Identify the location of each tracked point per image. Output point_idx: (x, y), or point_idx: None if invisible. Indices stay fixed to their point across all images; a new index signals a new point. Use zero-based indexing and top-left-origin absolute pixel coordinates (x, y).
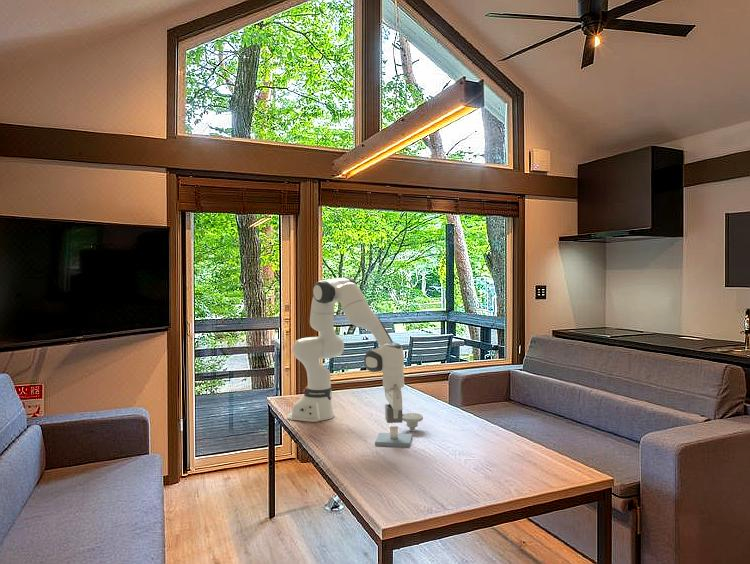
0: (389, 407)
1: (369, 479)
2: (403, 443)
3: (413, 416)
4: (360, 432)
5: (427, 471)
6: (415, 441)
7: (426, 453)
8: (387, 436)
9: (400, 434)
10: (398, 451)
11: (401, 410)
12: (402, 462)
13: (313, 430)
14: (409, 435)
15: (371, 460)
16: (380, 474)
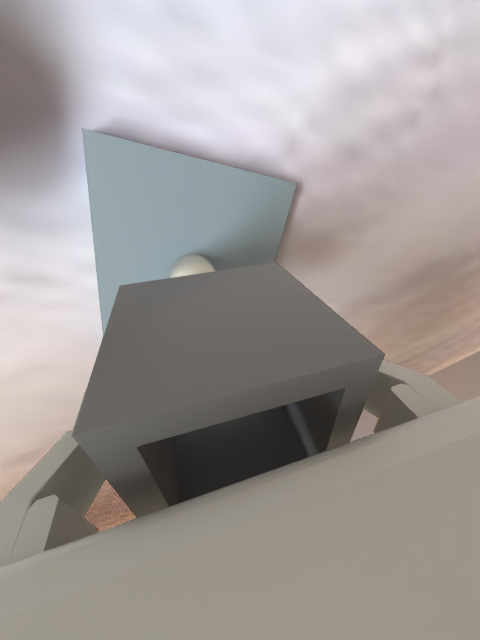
0: (173, 476)
1: (473, 322)
2: (284, 222)
3: None
4: (64, 418)
5: None
6: (183, 117)
7: (404, 80)
8: None
9: (115, 233)
10: (328, 247)
11: (349, 337)
12: (434, 235)
13: (86, 517)
14: (131, 161)
15: (373, 333)
16: (467, 301)
